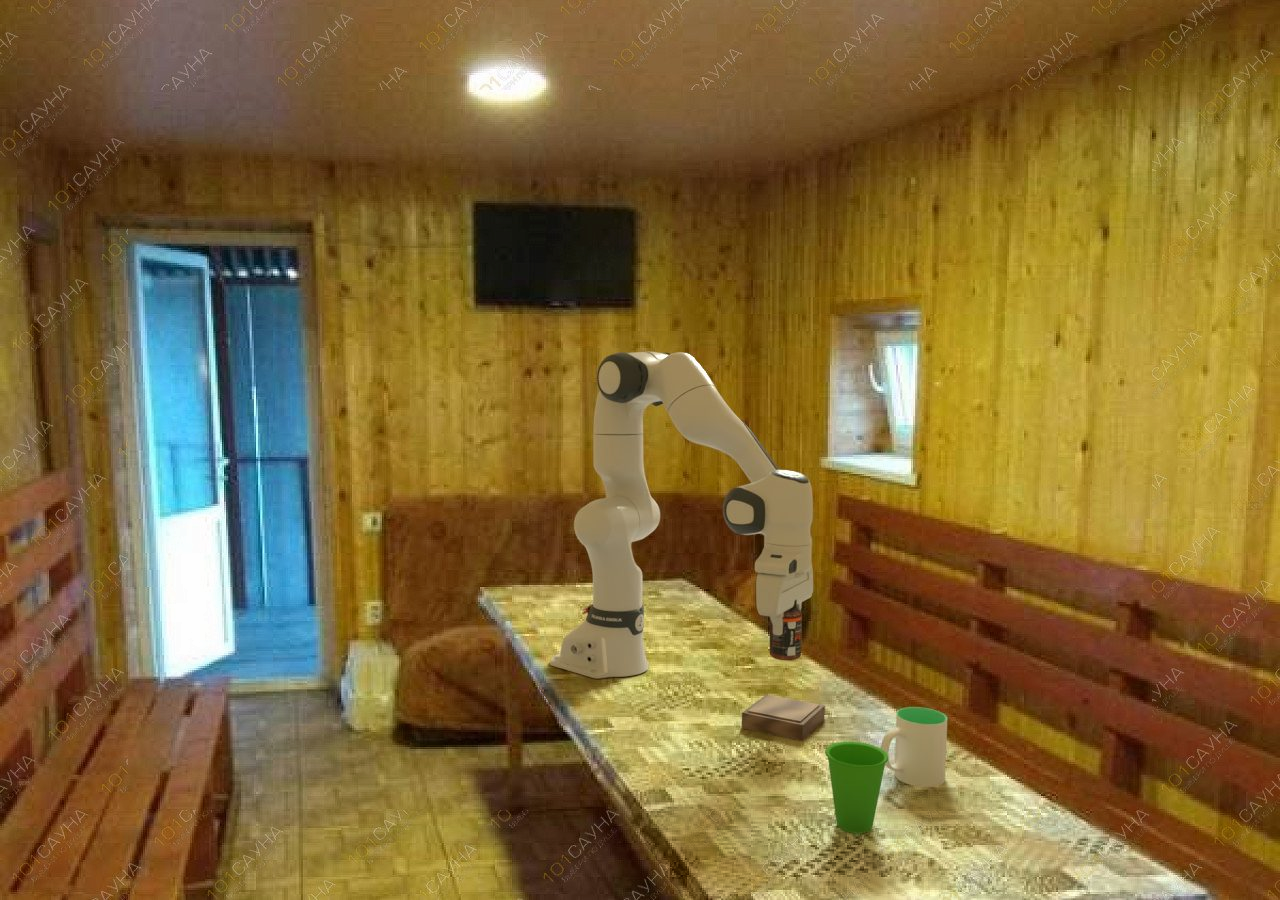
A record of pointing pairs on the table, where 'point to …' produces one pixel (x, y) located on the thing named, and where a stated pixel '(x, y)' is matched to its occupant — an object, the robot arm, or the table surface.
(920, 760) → the mug
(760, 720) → the brown box
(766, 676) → the table surface
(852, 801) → the cup
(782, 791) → the table surface
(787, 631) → the supplement bottle
